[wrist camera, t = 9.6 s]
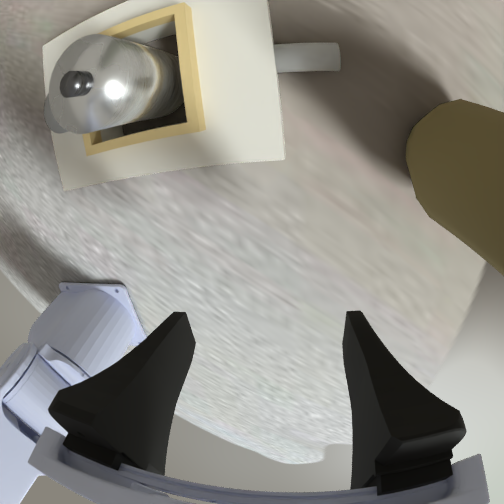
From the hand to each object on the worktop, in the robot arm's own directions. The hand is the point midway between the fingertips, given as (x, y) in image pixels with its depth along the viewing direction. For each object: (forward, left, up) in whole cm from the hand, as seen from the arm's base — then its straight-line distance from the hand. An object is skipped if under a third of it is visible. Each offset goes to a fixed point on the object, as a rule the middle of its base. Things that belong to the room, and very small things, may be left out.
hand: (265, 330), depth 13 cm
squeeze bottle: (+12, +6, -10) cm, 16 cm away
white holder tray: (-5, +12, -9) cm, 16 cm away
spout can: (-7, +12, -9) cm, 17 cm away
